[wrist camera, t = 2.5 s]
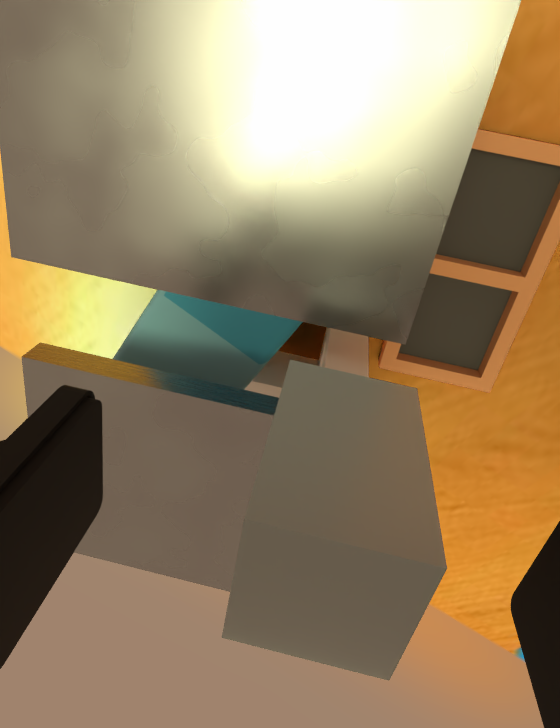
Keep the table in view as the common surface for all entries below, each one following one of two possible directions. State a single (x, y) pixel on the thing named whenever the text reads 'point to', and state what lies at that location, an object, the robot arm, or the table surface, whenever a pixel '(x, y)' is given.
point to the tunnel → (230, 208)
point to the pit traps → (485, 264)
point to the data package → (205, 339)
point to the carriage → (337, 516)
